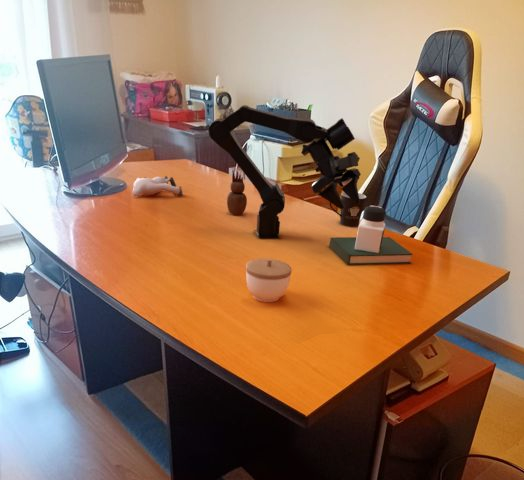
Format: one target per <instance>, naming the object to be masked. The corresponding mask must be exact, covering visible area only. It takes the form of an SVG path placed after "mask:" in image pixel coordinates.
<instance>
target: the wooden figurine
mask: <svg viewBox="0 0 524 480" xmlns="http://www.w3.org/2000/svg"><path fill="white" fill-rule="evenodd" d="M231 170H232V174H231V177H232V178H231V180H232V181H231V183H230V186H229V187H230V192H229V193H227V198H226V206H227V210H228V213H229V214H231V215H233V216H242V215H243V214H244V212H245V211H246V208H247V203H248V202H247V201H248V198H247V195H246V194H245V193H244V192H245V187H246V185H245V183H244V178H243V176H242V177H241V174H239V172H238V171H236V173H235V171H234V169H231Z"/></svg>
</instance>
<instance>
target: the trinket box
mask: <svg viewBox="0 0 524 480" xmlns="http://www.w3.org/2000/svg"><path fill="white" fill-rule="evenodd" d="M292 270H293V269H292V267H291V265H290V264H289V263H287V262H285V261H282V260H280V259H274V258H255V259H252V260H249V261H248V262H247V263H246V264H245V282H246V286H247V289H248V291H249V292H250V294H251V295H252V296H253V298H254V299H255V300H257V301H260V302H262V303H273V302H276V301H278V300H279V299H280V298H281V297H282V296H284V295H285V294H286V292H287V290H288V288H289V285H290V281H291V275H292Z"/></svg>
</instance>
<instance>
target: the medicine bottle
mask: <svg viewBox="0 0 524 480" xmlns="http://www.w3.org/2000/svg"><path fill="white" fill-rule="evenodd" d="M386 212H387V211H386V209H384V208H383V207H381V206H378V205H368V206H366V207H363V214H362V219H360V221H359V224H358V226H357V234H356V236H355V237H356V243H355V250H360V251H366V252H372V253H379V252H380V248H381V245H382V240H383V237H384V234H385V230H386V229H385V228H386V223H385V217H386Z"/></svg>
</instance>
